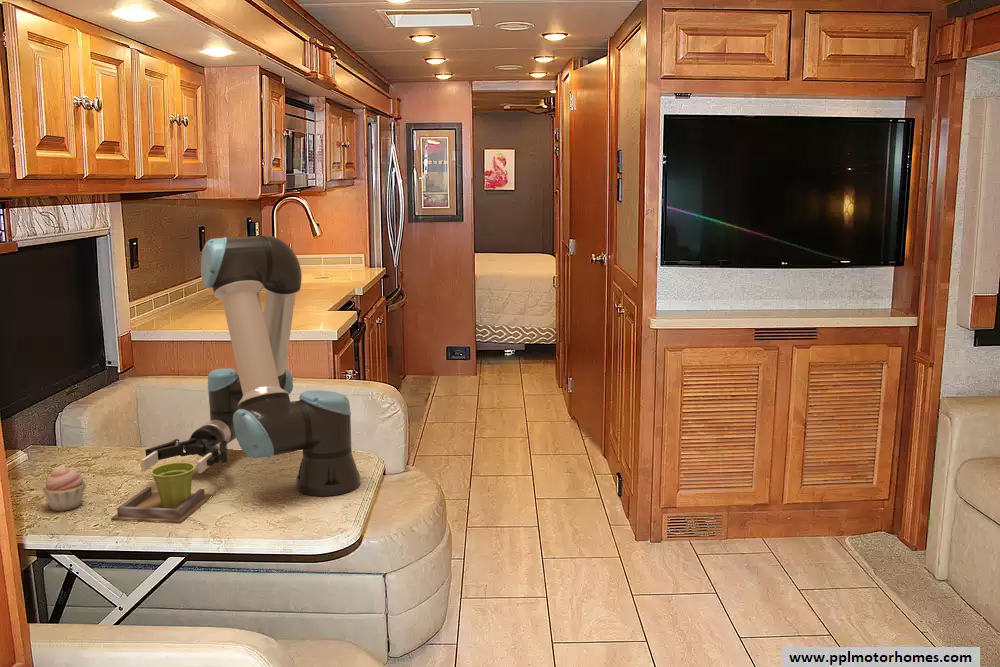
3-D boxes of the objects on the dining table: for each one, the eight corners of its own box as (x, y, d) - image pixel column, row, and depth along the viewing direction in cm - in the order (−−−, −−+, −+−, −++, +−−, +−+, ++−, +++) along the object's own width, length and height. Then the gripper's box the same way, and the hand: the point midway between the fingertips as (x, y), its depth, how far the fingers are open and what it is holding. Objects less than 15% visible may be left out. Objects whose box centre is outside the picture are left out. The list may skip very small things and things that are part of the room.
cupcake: (96, 505, 197) (92, 463, 195) (54, 517, 190) (49, 474, 188) (78, 495, 203) (74, 455, 201) (36, 507, 196) (32, 465, 194)
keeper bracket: (212, 496, 202) (212, 486, 202) (180, 523, 187) (179, 512, 186) (148, 493, 204) (147, 483, 203) (111, 520, 188) (110, 509, 188)
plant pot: (151, 502, 197) (148, 466, 196) (194, 494, 202) (191, 459, 200) (157, 516, 189) (153, 478, 188) (201, 507, 194) (198, 471, 192)
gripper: (257, 454, 219) (223, 483, 198) (164, 451, 221) (120, 480, 201) (256, 425, 217) (221, 452, 197) (162, 423, 220) (118, 449, 199)
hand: (170, 466), depth 199 cm, fingers open, 13 cm apart
